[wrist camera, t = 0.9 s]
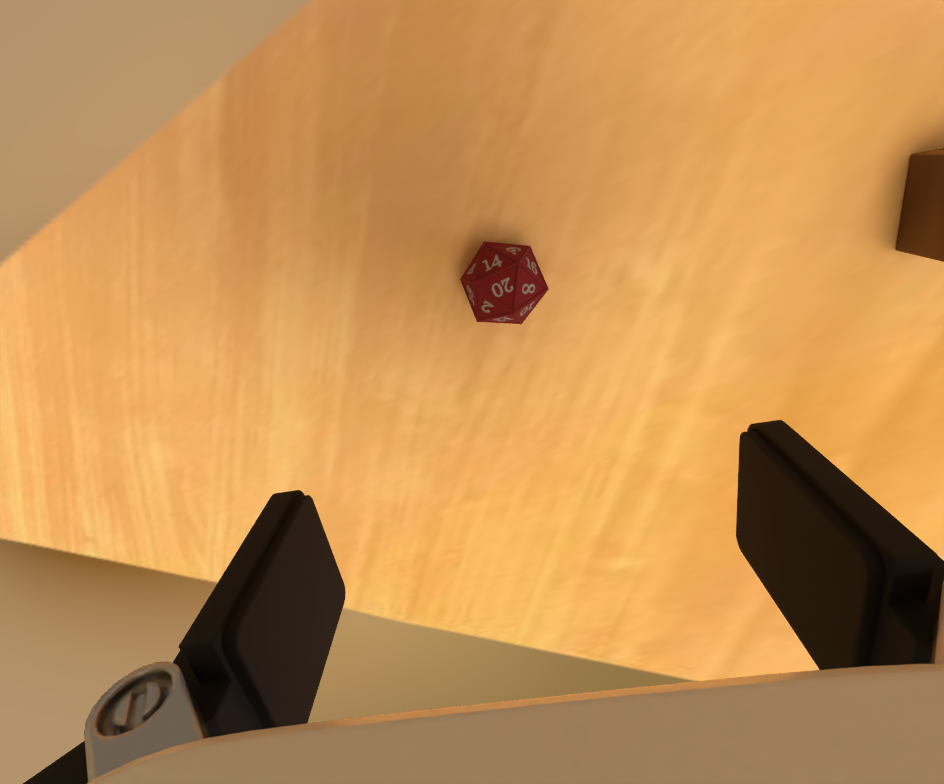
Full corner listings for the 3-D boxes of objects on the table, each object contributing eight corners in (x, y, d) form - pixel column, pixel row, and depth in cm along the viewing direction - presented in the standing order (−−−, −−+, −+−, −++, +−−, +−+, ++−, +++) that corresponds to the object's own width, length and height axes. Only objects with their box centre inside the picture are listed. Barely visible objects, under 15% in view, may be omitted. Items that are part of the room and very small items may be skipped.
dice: (517, 218, 26) (524, 229, 22) (551, 298, 27) (562, 320, 24) (450, 251, 26) (445, 267, 23) (487, 327, 28) (488, 353, 24)
